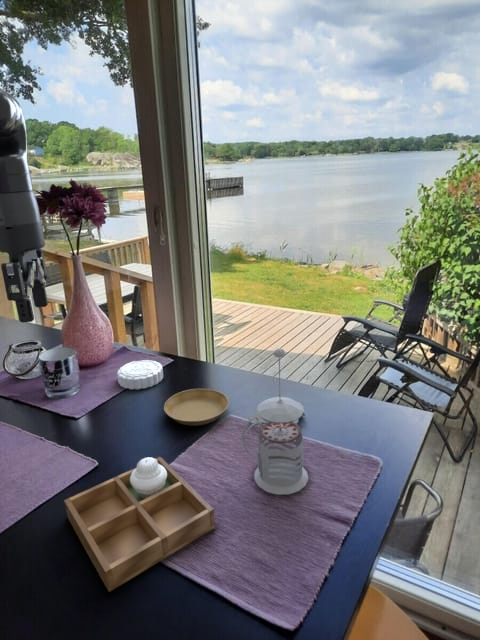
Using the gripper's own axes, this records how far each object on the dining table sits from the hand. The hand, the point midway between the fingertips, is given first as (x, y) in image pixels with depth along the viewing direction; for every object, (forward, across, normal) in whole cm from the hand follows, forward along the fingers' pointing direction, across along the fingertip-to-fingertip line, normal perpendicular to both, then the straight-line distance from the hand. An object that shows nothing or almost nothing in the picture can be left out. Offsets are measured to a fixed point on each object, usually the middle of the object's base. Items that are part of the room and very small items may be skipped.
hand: (34, 313), depth 78 cm
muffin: (+30, +15, +18) cm, 38 cm away
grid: (+30, +20, +16) cm, 40 cm away
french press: (+30, +14, +40) cm, 52 cm away
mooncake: (+30, -32, +13) cm, 46 cm away
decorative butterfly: (+30, -5, +45) cm, 55 cm away
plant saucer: (+30, -11, +27) cm, 42 cm away
